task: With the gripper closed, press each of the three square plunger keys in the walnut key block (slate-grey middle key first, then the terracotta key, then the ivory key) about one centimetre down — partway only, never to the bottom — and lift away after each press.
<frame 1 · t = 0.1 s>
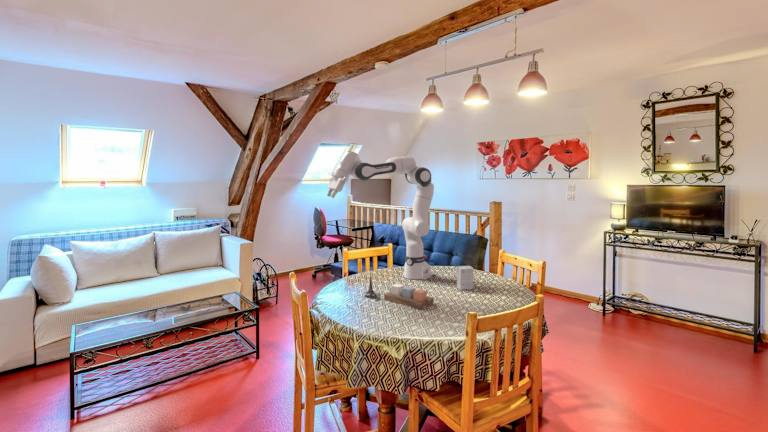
hand: (330, 196, 236), 54 cm above the table, tool tilted 30°, fingers open, 8 cm apart
eiffel tower figurine: (371, 297, 223), on the table
small box: (464, 288, 239), on the table
ivory key: (397, 289, 220), point 5 cm above the table, slide at 0.0 cm
slate key: (408, 292, 215), point 5 cm above the table, slide at 0.0 cm
terracotta key: (420, 295, 210), point 5 cm above the table, slide at 0.0 cm
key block: (408, 301, 216), on the table
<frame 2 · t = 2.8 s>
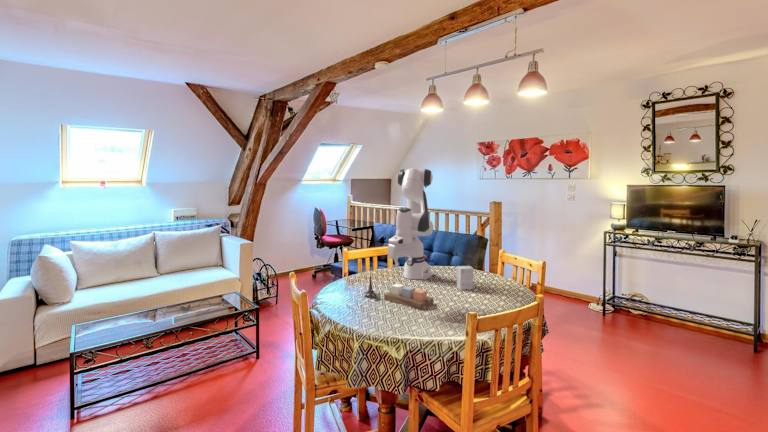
hand: (403, 264, 212), 21 cm above the table, tool pointing down, fingers open, 8 cm apart
nothing on the table moved.
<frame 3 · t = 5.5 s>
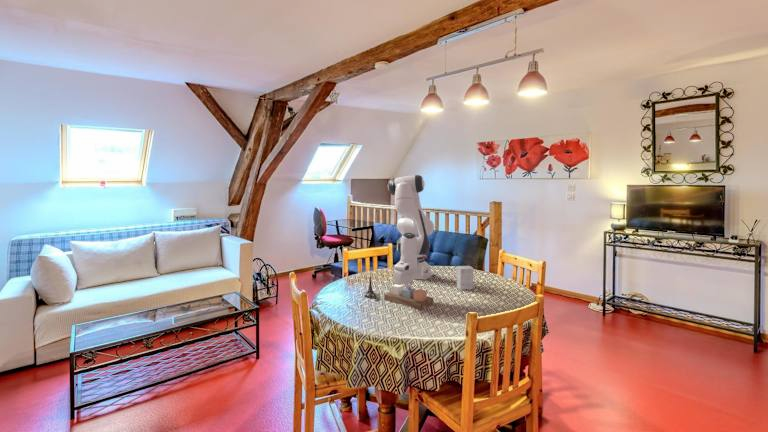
hand: (408, 289, 215), 7 cm above the table, tool pointing down, fingers closed, pressing on slate key
slate key: (408, 293, 215), point 4 cm above the table, slide at 0.5 cm, touching gripper
everything else where it was.
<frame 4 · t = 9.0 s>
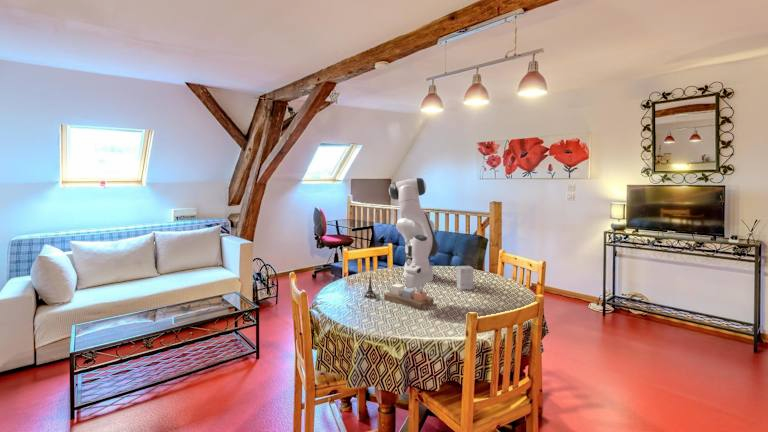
hand: (419, 292, 210), 7 cm above the table, tool pointing down, fingers closed, pressing on terracotta key
slate key: (408, 294, 215), point 4 cm above the table, slide at 1.1 cm
terracotta key: (420, 297, 210), point 4 cm above the table, slide at 0.8 cm, touching gripper
everything else where it was.
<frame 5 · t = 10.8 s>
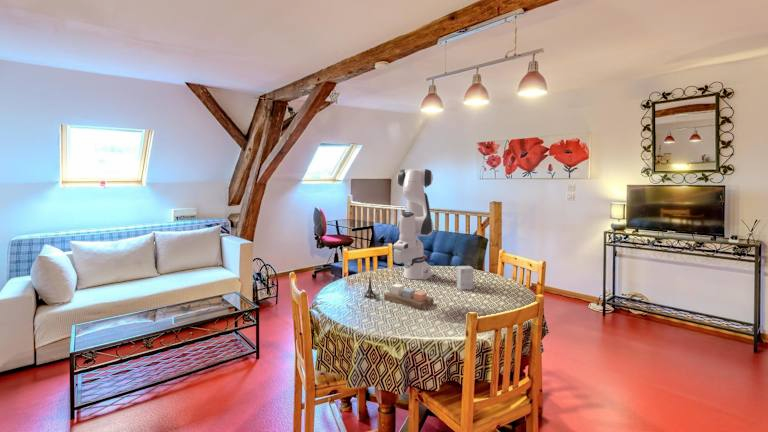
hand: (407, 268, 215), 18 cm above the table, tool pointing down, fingers closed
terracotta key: (420, 297, 210), point 4 cm above the table, slide at 1.1 cm
everything else where it was.
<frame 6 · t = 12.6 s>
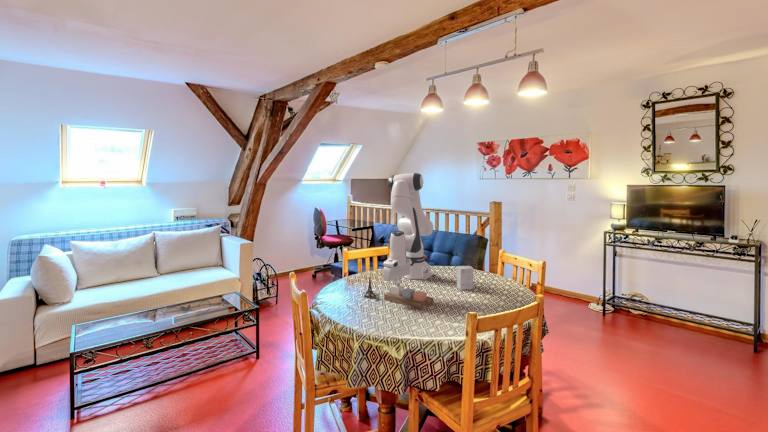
hand: (397, 285, 219), 7 cm above the table, tool pointing down, fingers closed, pressing on ivory key
ivory key: (397, 289, 220), point 5 cm above the table, slide at 0.1 cm, touching gripper
everything else where it was.
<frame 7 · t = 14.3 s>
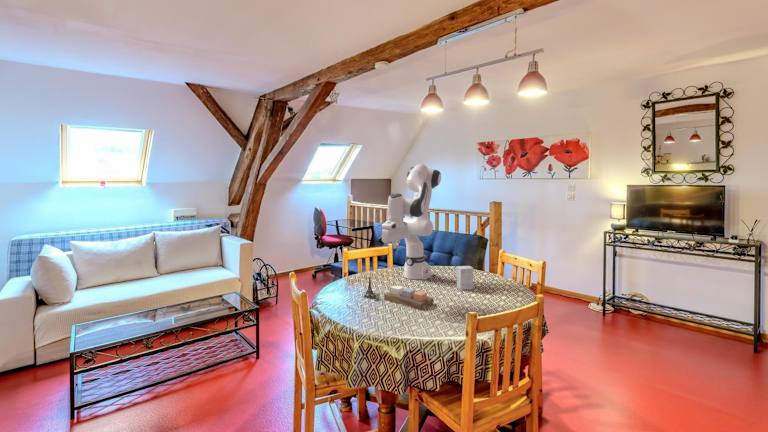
hand: (395, 248, 221), 27 cm above the table, tool pointing down, fingers closed
ivory key: (397, 291, 220), point 4 cm above the table, slide at 1.1 cm
everything else where it was.
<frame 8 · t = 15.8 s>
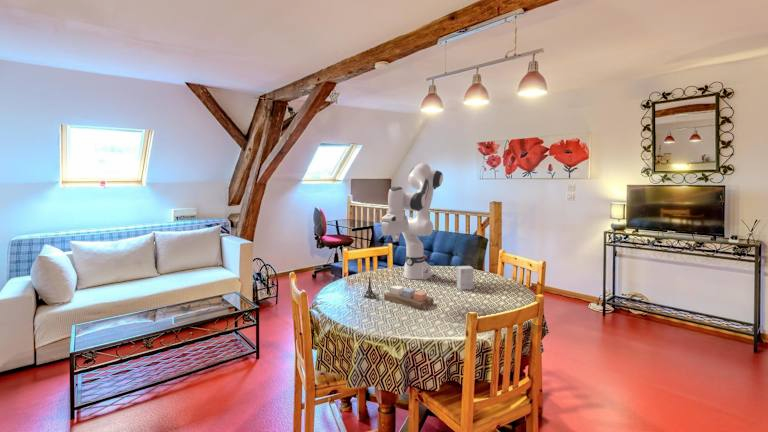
hand: (395, 241, 221), 31 cm above the table, tool pointing down, fingers closed
nothing on the table moved.
at the end: slate key slide at 1.1 cm; terracotta key slide at 1.1 cm; ivory key slide at 1.1 cm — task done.
